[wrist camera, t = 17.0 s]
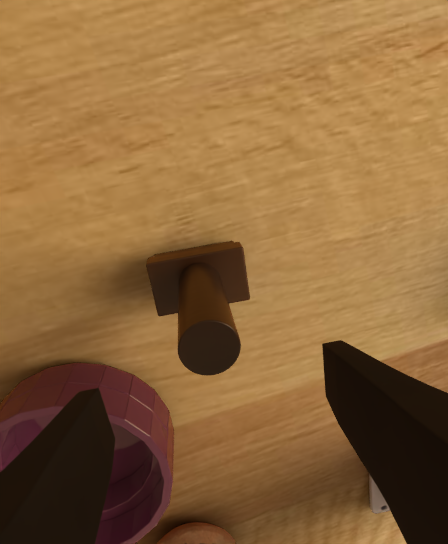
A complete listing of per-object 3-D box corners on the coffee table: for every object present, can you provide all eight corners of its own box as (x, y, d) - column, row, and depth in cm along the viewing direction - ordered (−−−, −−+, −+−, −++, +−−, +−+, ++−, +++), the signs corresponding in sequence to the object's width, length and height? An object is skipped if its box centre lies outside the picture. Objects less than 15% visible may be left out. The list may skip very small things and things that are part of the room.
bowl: (154, 342, 22) (148, 387, 18) (186, 474, 26) (188, 538, 22) (-29, 377, 22) (-80, 432, 17) (31, 507, 25) (1, 579, 21)
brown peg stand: (236, 236, 21) (275, 296, 12) (243, 284, 22) (283, 371, 13) (149, 251, 20) (127, 324, 12) (160, 299, 21) (147, 398, 13)
